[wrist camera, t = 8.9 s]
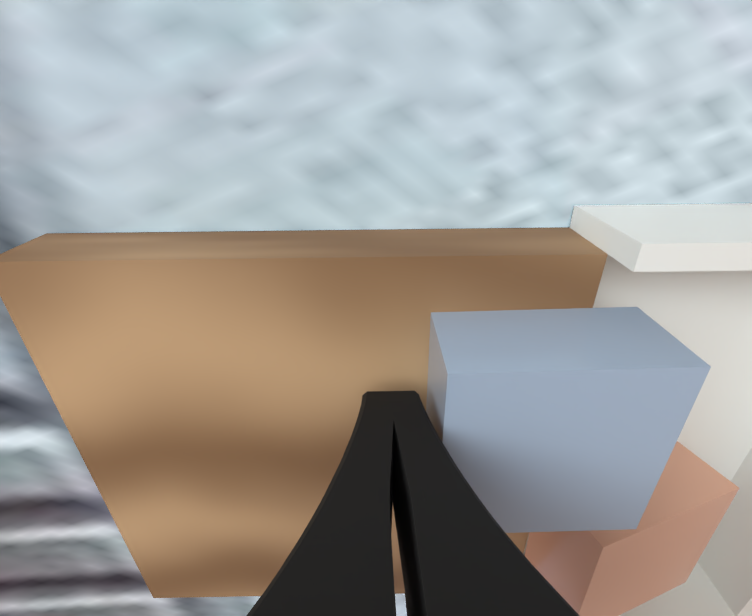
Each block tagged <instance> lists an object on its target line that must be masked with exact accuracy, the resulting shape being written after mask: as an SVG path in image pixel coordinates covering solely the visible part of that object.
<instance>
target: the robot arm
mask: <svg viewBox="0 0 752 616" xmlns="http://www.w3.org/2000/svg"><path fill="white" fill-rule="evenodd" d="M392 507H393V509H394V516H395V523H396V531H397V538H398V545H399V552H400V560H401V567H402V574H403V581H404V589H405V598H406V608H407V616H580V615H579V614H578V613H577V612H576V611H575V610H574V609H573V608H572V607H571V606H570V605H569V604H568V603H567V602H566V600H565V599H564V598H563V597H562V596H561V595H560V594H559V593H558V592H557V591H556V590H555V589H554V588H553V586H552V585H551V584H550V583H549V582H548V581H547V580H546V579H545V578H544V577H543V576H542V575H541V574H540V573H539V571H538V570H537V569H536V568H535V567H534V566H533V565H532V564H531V563H530V562H529V560H528V559H527V558H526V557H525V556H524V554H523V553H522V552H521V551H520V550H519V549H518V547H517V546H516V545H515V544H514V543H513V541H512V540H511V539H510V538H509V537H508V535H507V534H506V533H505V532H504V530H503V529H502V528H501V527H500V525H499V524H498V523H497V522H496V520H495V519H494V518H493V517H492V515H491V514H490V513H489V511H488V510H487V509H486V507H485V506H484V505H483V503H482V502H481V500H480V499H479V498H478V496H477V495H476V493H475V492H474V491H473V489H472V488H471V486H470V485H469V483H468V482H467V481H466V479H465V478H464V476H463V475H462V473H461V472H460V470H459V468H458V467H457V465H456V464H455V462H454V461H453V459H452V457H451V456H450V454H449V452H448V451H447V449H446V447H445V446H444V444H443V443H442V441H441V439H440V437H439V436H438V434H437V432H436V430H435V428H434V426H433V424H432V423H431V421H430V419H429V417H428V415H427V413H426V410H425V408H424V406H423V404H422V401H421V399H420V396H419V394H418V393H417V392H416V391H367V392H366V393H365V394H363V395H362V402H361V407H360V411H359V414H358V418H357V421H356V424H355V427H354V429H353V432H352V435H351V437H350V440H349V442H348V445H347V447H346V450H345V452H344V454H343V457H342V459H341V462H340V464H339V466H338V468H337V470H336V472H335V474H334V476H333V478H332V480H331V482H330V484H329V486H328V488H327V490H326V492H325V494H324V496H323V498H322V500H321V502H320V504H319V506H318V507H317V509H316V511H315V513H314V515H313V516H312V518H311V520H310V522H309V523H308V525H307V527H306V528H305V530H304V532H303V533H302V535H301V537H300V538H299V540H298V542H297V543H296V545H295V546H294V548H293V549H292V551H291V552H290V554H289V556H288V557H287V559H286V560H285V562H284V563H283V565H282V566H281V568H280V570H279V571H278V573H277V574H276V576H275V577H274V578H273V580H272V581H271V583H270V584H269V586H268V587H267V589H266V590H265V591H264V593H263V594H262V596H261V597H260V598H259V600H258V601H257V602H256V604H255V605H254V606H253V608H252V609H251V611H250V612H249V613H248V615H247V616H396V606H395V590H394V573H393V556H392V539H391V531H392Z"/></svg>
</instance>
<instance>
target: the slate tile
mask: <svg viewBox="0 0 752 616" xmlns="http://www.w3.org/2000/svg"><path fill="white" fill-rule="evenodd" d="M710 368H711V366H710V365H708V364H707V363H706V362H705V361H703V360H702V359H701V358H700V357H699V356H697V355H696V354H695V353H694V352H692V351H691V350H690V349H689V348H687V347H686V346H685V345H684V344H683V343H681V342H680V341H679V340H678V339H676V338H675V337H674V336H673V335H671V334H670V333H669V332H668V331H667V330H665V329H664V328H663V327H662V326H660V325H659V324H658V323H657V322H655V321H654V320H653V319H652V318H651V317H649V316H648V315H647V314H646V313H644V312H643V311H642V310H641V309H639V308H638V307H608V308H572V309H536V310H500V311H465V312H431V317H430V338H429V359H428V381H427V402H426V413H427V415H428V417H429V419H430V421H431V423H432V424H433V426H434V428H435V430H436V432H437V434H438V436H439V437H440V439H441V441H442V443H443V444H444V446H445V447H446V449H447V451H448V452H449V454H450V456H451V457H452V459H453V461H454V462H455V464H456V465H457V467H458V468H459V470H460V472H461V473H462V475H463V476H464V478H465V479H466V481H467V482H468V483H469V485H470V486H471V488H472V489H473V491H474V492H475V493H476V495H477V496H478V498H479V499H480V500H481V502H482V503H483V505H484V506H485V507H486V509H487V510H488V511H489V513H490V514H491V515H492V517H493V518H494V519H495V520H496V522H497V523H498V524H499V525H500V527H501V528H502V529H503V530H504V532H505V533H521V532H556V531H591V530H625V529H636V528H637V526H638V524H639V522H640V520H641V518H642V515H643V513H644V511H645V509H646V507H647V505H648V502H649V500H650V498H651V496H652V494H653V492H654V489H655V487H656V485H657V483H658V481H659V479H660V476H661V474H662V472H663V470H664V468H665V466H666V463H667V461H668V459H669V457H670V455H671V453H672V450H673V448H674V446H675V444H676V442H677V439H678V437H679V435H680V433H681V431H682V429H683V426H684V424H685V422H686V420H687V418H688V416H689V413H690V411H691V409H692V407H693V405H694V403H695V400H696V398H697V396H698V394H699V392H700V390H701V387H702V385H703V383H704V381H705V379H706V377H707V374H708V372H709V370H710Z"/></svg>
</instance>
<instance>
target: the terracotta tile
mask: <svg viewBox="0 0 752 616" xmlns="http://www.w3.org/2000/svg"><path fill="white" fill-rule="evenodd" d="M738 490H739V487H737V486H736V485H735V484H733V483H732V482H731V481H730V480H728V479H727V478H726V477H724V476H723V475H722V474H720V473H719V472H718V471H716V470H715V469H714V468H712V467H711V466H710V465H708V464H707V463H706V462H704V461H703V460H702V459H700V458H699V457H698V456H696V455H695V454H694V453H692V452H691V451H690V450H688V449H687V448H686V447H684V446H683V445H682V444H681V443H679V442H678V441H677V442H676V444H675V446H674V448H673V450H672V453H671V455H670V457H669V459H668V461H667V463H666V466H665V468H664V470H663V472H662V474H661V476H660V479H659V481H658V483H657V485H656V487H655V489H654V492H653V494H652V496H651V498H650V500H649V502H648V505H647V507H646V509H645V511H644V513H643V515H642V518H641V520H640V522H639V524H638V526H637V528H636V529H625V530H591V531H556V532H529V537H528V541H527V546H526V551H525V555H524V556H525V557H526V558H527V559H528V560H529V562H530V563H531V564H532V565H533V566H534V567H535V568H536V569H537V570H538V571H539V573H540V574H541V575H542V576H543V577H544V578H545V579H546V580H547V581H548V582H549V583H550V584H551V585H552V586H553V588H554V589H555V590H556V591H557V592H558V593H559V594H560V595H561V596H562V597H563V598H564V599H565V600H566V602H567V603H568V604H569V605H570V606H571V607H572V608H573V609H574V610H575V611H576V612H577V613H578V614H579V615H580V616H619V615H621V614H623V613H625V612H627V611H629V610H631V609H633V608H635V607H637V606H639V605H641V604H643V603H645V602H647V601H649V600H651V599H653V598H655V597H657V596H659V595H661V594H663V593H665V592H667V591H669V590H671V589H673V588H675V587H677V586H679V585H681V584H683V583H685V582H686V581H687V579H688V577H689V575H690V574H691V572H692V570H693V568H694V567H695V565H696V563H697V561H698V560H699V558H700V556H701V554H702V553H703V551H704V549H705V548H706V546H707V544H708V542H709V541H710V539H711V537H712V535H713V534H714V532H715V530H716V528H717V527H718V525H719V523H720V521H721V520H722V518H723V516H724V514H725V513H726V511H727V509H728V507H729V506H730V504H731V502H732V500H733V499H734V497H735V495H736V493H737V492H738Z"/></svg>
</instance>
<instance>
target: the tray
mask: <svg viewBox="0 0 752 616" xmlns="http://www.w3.org/2000/svg"><path fill="white" fill-rule="evenodd" d="M569 228H571V229H572V230H574V231H575V232H577V233H578V234H579V235H581V236H582V237H584V238H585V239H587V240H588V241H590V242H591V243H592V244H594V245H595V246H597V247H598V248H600V249H601V250H602V251H604V252H605V253H607V254H608V256H607V259H606V263H605V266H604V270H603V273H602V277H601V280H600V284H599V287H598V291H597V295H596V298H595V302H594V305H593V308H608V307H638V308H639V309H641V310H642V311H643V312H644V313H646V314H647V315H648V316H649V317H651V318H652V319H653V320H654V321H655V322H657V323H658V324H659V325H660V326H662V327H663V328H664V329H665V330H667V331H668V332H669V333H670V334H671V335H673V336H674V337H675V338H676V339H678V340H679V341H680V342H681V343H683V344H684V345H685V346H686V347H687V348H689V349H690V350H691V351H692V352H694V353H695V354H696V355H697V356H699V357H700V358H701V359H702V360H703V361H705V362H706V363H707V364H708V365H710V366H711V368H710V370H709V372H708V374H707V377H706V379H705V381H704V383H703V385H702V387H701V390H700V392H699V394H698V396H697V398H696V400H695V403H694V405H693V407H692V409H691V411H690V413H689V416H688V418H687V420H686V422H685V424H684V426H683V429H682V431H681V433H680V435H679V437H678V439H677V441H678V442H679V443H681V444H682V445H683V446H684V447H686V448H687V449H688V450H690V451H691V452H692V453H694V454H695V455H696V456H698V457H699V458H700V459H702V460H703V461H704V462H706V463H707V464H708V465H710V466H711V467H712V468H714V469H715V470H716V471H718V472H719V473H720V474H722V475H723V476H724V477H726V478H727V479H728V480H730V481H731V482H732V483H733V484H735V485H736V486H737V487H739V490H738V492H737V493H736V495H735V497H734V499H733V500H732V502H731V504H730V506H729V507H728V509H727V511H726V513H725V514H724V516H723V518H722V520H721V521H720V523H719V525H718V527H717V528H716V530H715V532H714V534H713V535H712V537H711V539H710V541H709V542H708V544H707V546H706V548H705V549H704V551H703V553H702V554H701V556H700V558H699V560H698V561H697V563H696V565H695V567H694V568H693V570H692V572H691V574H690V575H689V577H688V579H687V581H686V582H685V583H683V584H681V585H679V586H677V587H675V588H673V589H671V590H669V591H667V592H665V593H663V594H661V595H659V596H657V597H655V598H653V599H651V600H649V601H647V602H645V603H643V604H641V605H639V606H637V607H635V608H633V609H631V610H629V611H627V612H625V613H623V614H621V615H619V616H752V203H729V204H640V205H574V209H573V214H572V218H571V223H570V227H569ZM528 537H529V535H528ZM527 541H528V538H527ZM526 546H527V542H526V545H525V549H524V553H523V554H524V555H525V551H526Z"/></svg>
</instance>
